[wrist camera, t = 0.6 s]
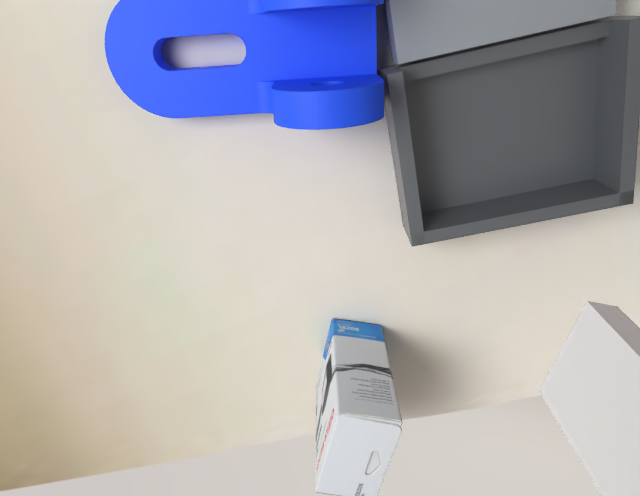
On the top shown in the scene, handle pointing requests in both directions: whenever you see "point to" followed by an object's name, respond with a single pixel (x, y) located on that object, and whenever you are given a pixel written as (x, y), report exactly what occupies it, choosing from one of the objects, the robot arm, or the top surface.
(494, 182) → the box
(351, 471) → the ink box
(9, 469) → the top surface
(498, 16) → the board
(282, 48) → the bracket
